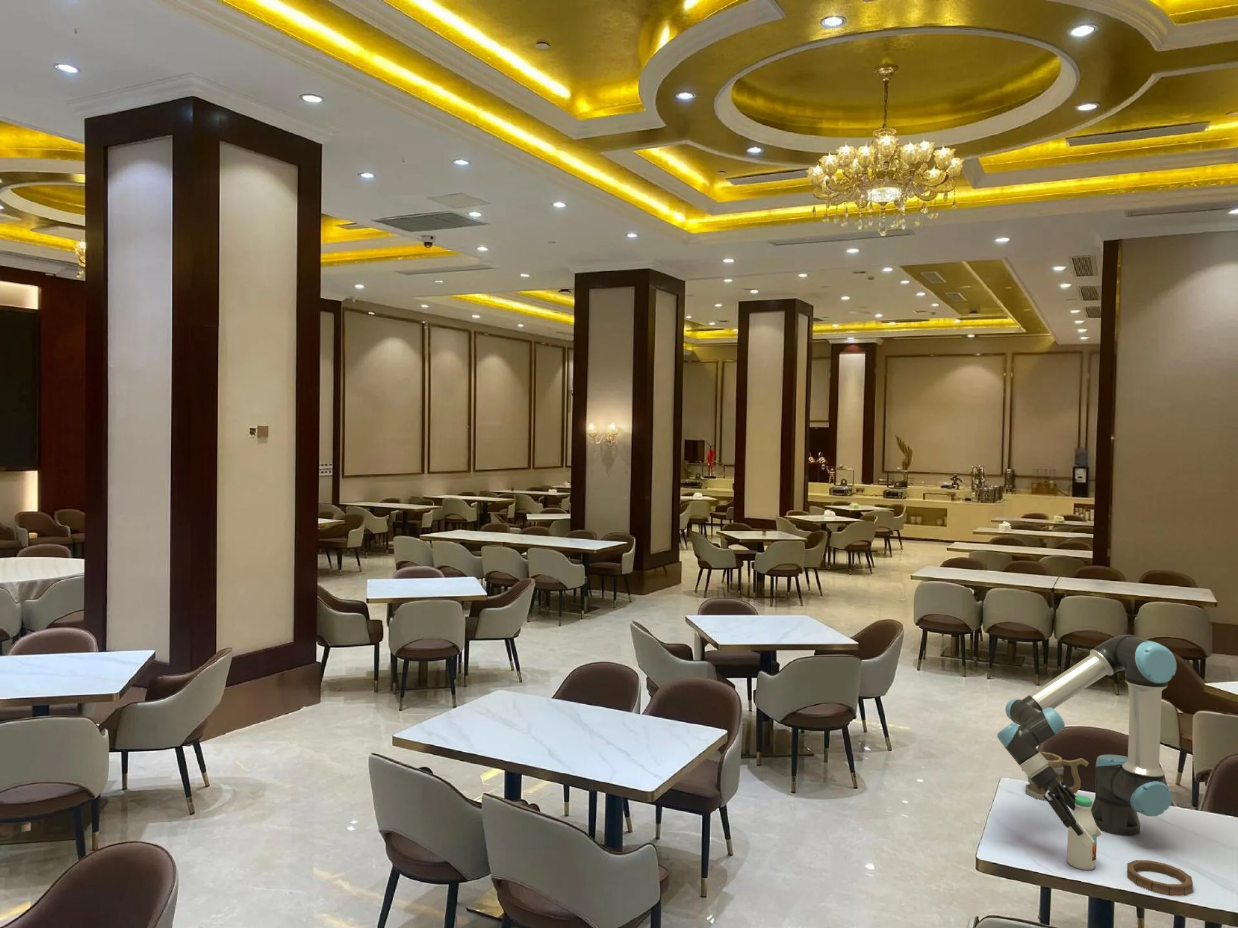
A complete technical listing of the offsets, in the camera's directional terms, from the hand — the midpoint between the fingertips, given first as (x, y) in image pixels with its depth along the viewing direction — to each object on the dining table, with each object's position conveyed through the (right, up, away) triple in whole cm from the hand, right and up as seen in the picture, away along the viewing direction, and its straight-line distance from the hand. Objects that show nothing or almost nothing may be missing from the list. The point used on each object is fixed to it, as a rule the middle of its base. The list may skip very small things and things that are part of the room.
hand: (1094, 839), depth 265 cm
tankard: (+16, -8, +56) cm, 59 cm away
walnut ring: (+15, -9, -7) cm, 19 cm away
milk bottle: (-3, -9, +2) cm, 9 cm away
